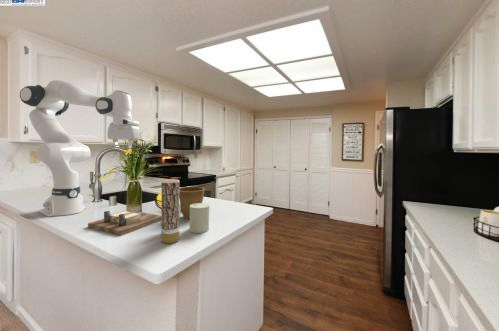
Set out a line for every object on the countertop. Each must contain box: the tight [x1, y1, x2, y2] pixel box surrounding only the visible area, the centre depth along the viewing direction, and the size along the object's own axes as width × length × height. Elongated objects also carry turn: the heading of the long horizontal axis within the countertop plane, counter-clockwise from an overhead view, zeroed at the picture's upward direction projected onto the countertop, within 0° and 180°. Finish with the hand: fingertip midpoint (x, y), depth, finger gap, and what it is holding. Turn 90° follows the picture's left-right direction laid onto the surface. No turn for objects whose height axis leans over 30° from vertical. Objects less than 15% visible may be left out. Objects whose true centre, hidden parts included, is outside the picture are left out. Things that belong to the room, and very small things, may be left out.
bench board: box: [87, 210, 161, 237], centre depth 109 cm, size 22×24×7 cm
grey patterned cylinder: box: [160, 178, 180, 245], centre depth 90 cm, size 7×7×25 cm
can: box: [188, 202, 211, 234], centre depth 104 cm, size 9×9×12 cm
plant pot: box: [179, 186, 205, 220], centre depth 121 cm, size 15×15×16 cm
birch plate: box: [110, 210, 141, 225], centre depth 107 cm, size 12×8×3 cm, turn 68°
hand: (123, 148), depth 119 cm, fingers open, 8 cm apart
